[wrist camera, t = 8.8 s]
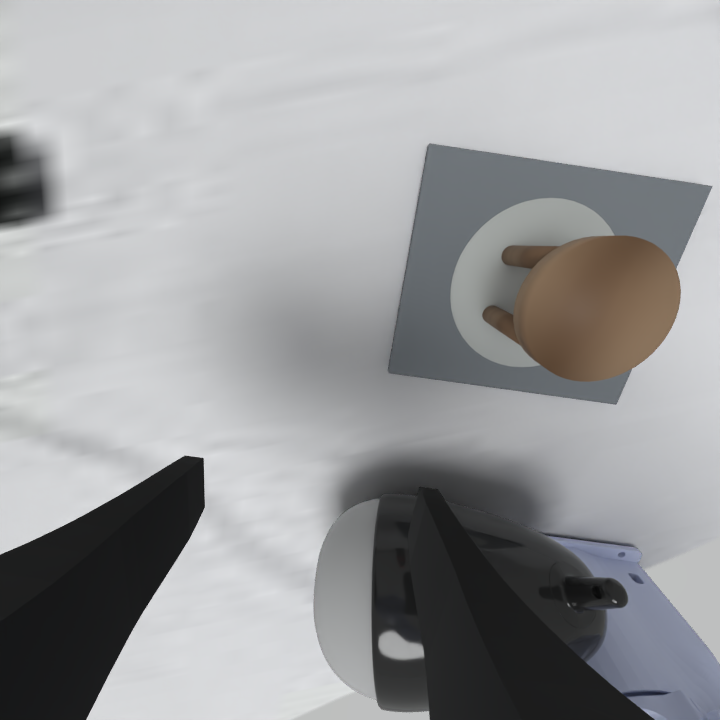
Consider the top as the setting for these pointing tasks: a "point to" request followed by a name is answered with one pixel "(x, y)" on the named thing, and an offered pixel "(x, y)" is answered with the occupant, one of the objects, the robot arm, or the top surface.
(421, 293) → the mat
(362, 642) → the black ball
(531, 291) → the stool
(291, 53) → the top surface
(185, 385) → the top surface
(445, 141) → the top surface
